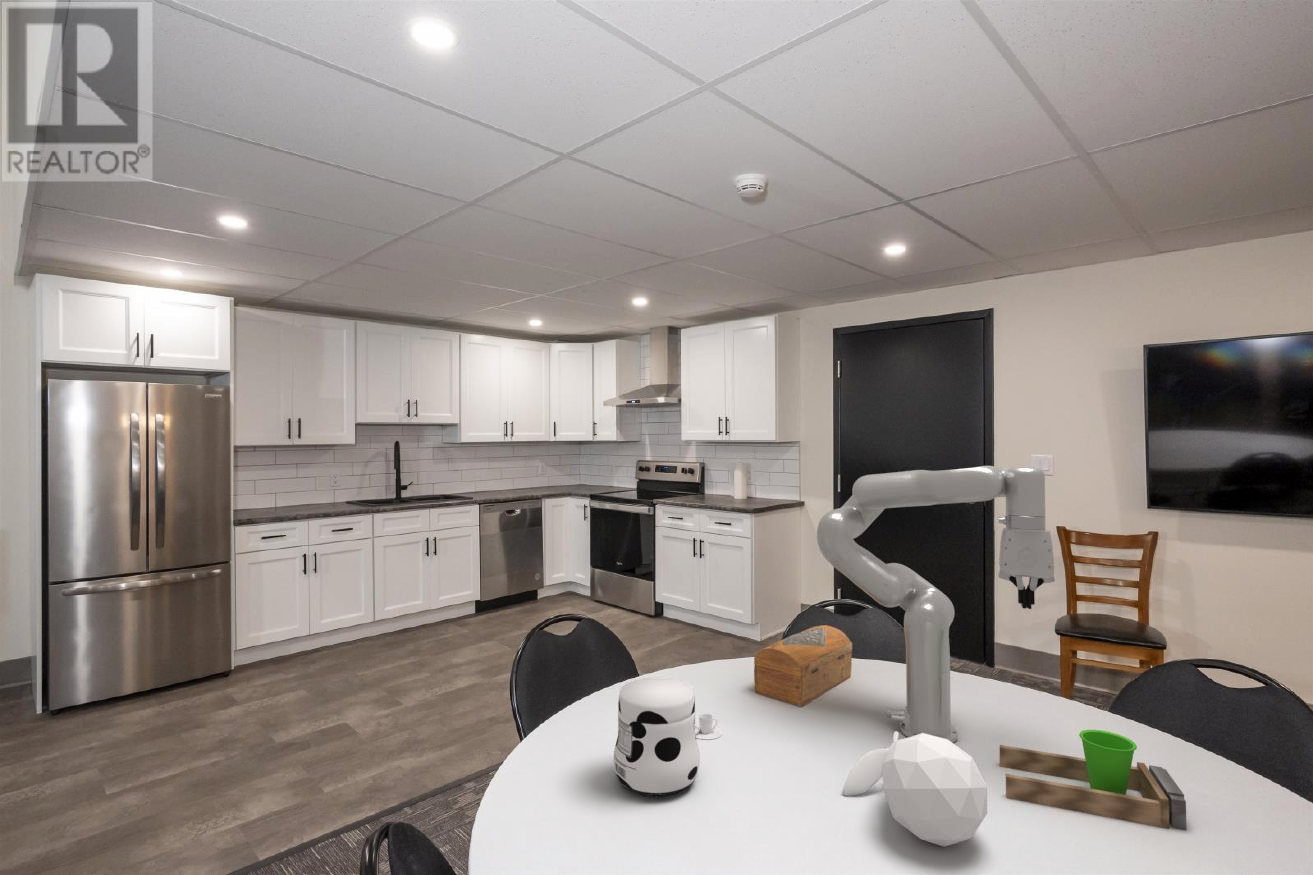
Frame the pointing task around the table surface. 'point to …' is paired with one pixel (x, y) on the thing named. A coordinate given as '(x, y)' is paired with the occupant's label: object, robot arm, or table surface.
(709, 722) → the teacup and saucer
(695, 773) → the milk container
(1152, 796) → the bay
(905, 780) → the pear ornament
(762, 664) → the wooden box
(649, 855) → the table surface
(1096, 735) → the cup
